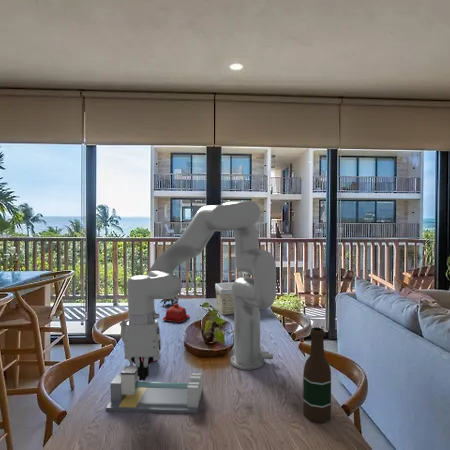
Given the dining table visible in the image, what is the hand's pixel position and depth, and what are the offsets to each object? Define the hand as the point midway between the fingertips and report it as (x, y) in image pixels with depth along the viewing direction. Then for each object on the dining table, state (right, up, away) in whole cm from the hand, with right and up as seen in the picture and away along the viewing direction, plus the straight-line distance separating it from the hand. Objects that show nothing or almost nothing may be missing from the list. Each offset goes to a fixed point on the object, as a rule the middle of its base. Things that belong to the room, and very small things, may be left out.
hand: (143, 378), depth 99 cm
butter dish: (-1, -4, +74) cm, 74 cm away
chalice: (-8, -6, +16) cm, 19 cm away
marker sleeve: (-4, -4, 0) cm, 6 cm away
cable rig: (+4, -6, 0) cm, 8 cm away
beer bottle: (+50, -7, -8) cm, 51 cm away
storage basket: (+32, -3, +88) cm, 94 cm away
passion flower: (-8, -3, +97) cm, 98 cm away
